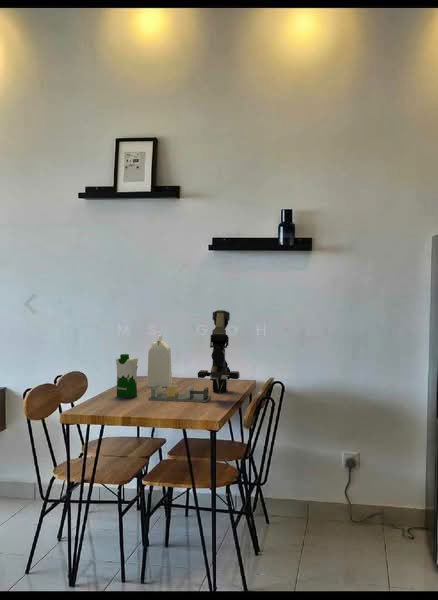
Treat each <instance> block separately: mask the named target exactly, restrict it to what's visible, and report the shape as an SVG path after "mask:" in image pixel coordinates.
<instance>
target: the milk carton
mask: <svg viewBox="0 0 438 600" xmlns="http://www.w3.org/2000/svg"><path fill="white" fill-rule="evenodd" d="M138 362H139V358H137V357H136V358H135V357H130V354H128V353H123V354H122V353H121V354H120V358H118V357H117V358H116V359H115V363H116V364H115V365H116V398H122V399H131V398H135V397H137V396H138V391H137V390H138V387H137V386H138V385H137V381H138V380H137V379H138V378H137V375H138V374H137V373H138V372H137V371H138V367H137V366H138Z"/></svg>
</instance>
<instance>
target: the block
mask: <svg viewBox="0 0 438 600" xmlns="http://www.w3.org/2000/svg"><path fill="white" fill-rule="evenodd" d="M178 394H179V384H178V383H172V384H170V385H169V386H168V387H167V397H168V398H175V397H176V396H178Z"/></svg>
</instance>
